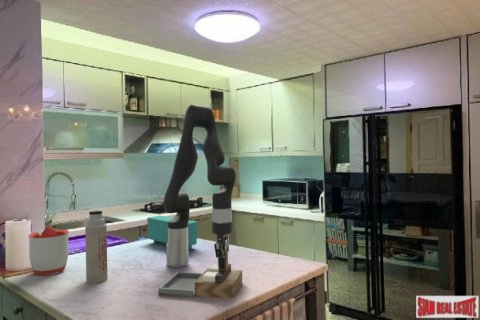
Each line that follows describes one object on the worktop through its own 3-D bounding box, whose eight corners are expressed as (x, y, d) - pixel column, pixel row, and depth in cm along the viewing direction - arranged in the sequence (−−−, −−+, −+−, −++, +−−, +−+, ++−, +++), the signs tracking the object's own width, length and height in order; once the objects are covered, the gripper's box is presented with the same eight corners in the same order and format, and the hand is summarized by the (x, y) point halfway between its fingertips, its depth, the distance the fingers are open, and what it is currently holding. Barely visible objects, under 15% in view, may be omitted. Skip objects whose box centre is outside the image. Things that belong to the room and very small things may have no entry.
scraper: (214, 282, 122) (213, 255, 122) (224, 269, 136) (223, 245, 136) (222, 283, 122) (221, 256, 121) (231, 270, 135) (231, 245, 135)
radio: (199, 249, 187) (199, 221, 187) (184, 253, 179) (184, 224, 179) (161, 239, 209) (161, 214, 209) (146, 243, 201) (146, 217, 201)
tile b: (209, 274, 131) (209, 268, 131) (213, 270, 136) (213, 265, 136) (221, 274, 130) (221, 269, 130) (224, 270, 135) (224, 265, 135)
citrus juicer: (61, 263, 165) (60, 221, 164) (74, 271, 152) (73, 225, 152) (23, 271, 154) (22, 226, 153) (34, 280, 141) (33, 231, 141)
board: (194, 296, 123) (194, 282, 123) (208, 280, 138) (207, 268, 138) (232, 299, 120) (232, 284, 120) (242, 283, 135) (242, 270, 135)
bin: (158, 295, 124) (158, 288, 124) (177, 277, 142) (177, 271, 142) (192, 297, 122) (192, 290, 122) (208, 279, 139) (208, 273, 139)
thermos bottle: (111, 278, 142) (110, 210, 142) (94, 284, 136) (93, 213, 135) (99, 275, 147) (98, 209, 146) (82, 281, 140) (80, 211, 140)
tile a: (203, 281, 124) (202, 275, 124) (206, 277, 128) (206, 271, 128) (215, 282, 123) (215, 276, 123) (218, 277, 127) (218, 272, 127)
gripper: (217, 216, 136) (218, 260, 136) (206, 223, 122) (207, 272, 123) (236, 217, 135) (236, 261, 135) (227, 224, 121) (227, 273, 121)
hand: (222, 266), depth 129 cm, fingers closed on scraper, 3 cm apart
